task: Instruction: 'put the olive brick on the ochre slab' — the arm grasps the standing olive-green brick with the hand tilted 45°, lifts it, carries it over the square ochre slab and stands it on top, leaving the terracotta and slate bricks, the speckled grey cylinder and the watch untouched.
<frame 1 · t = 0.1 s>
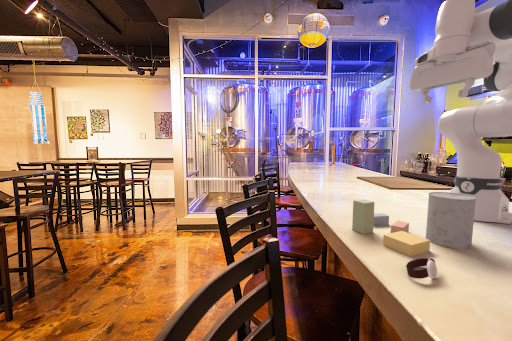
hand: (443, 100, 71), 39 cm above the table, tool pointing down, fingers open, 8 cm apart
olive brick: (362, 230, 70), on the table
watch: (420, 275, 47), on the table
ochre slab: (405, 249, 58), on the table
terracotta brick: (399, 234, 68), on the table
slate brick: (377, 224, 77), on the table
speckled grey cylinder: (447, 242, 62), on the table
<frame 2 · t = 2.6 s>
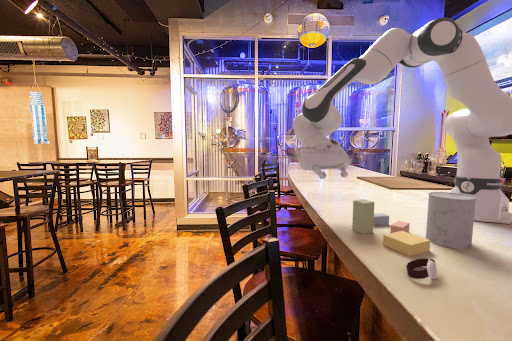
hand: (334, 177, 80), 15 cm above the table, tool tilted 45°, fingers open, 8 cm apart
nothing on the table moved.
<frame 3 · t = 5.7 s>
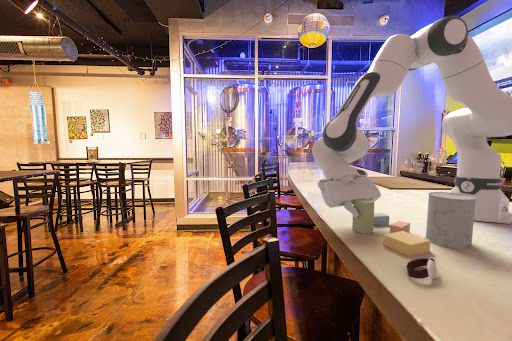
hand: (365, 215, 69), 5 cm above the table, tool tilted 45°, fingers closed on olive brick, 4 cm apart
olive brick: (362, 230, 70), on the table, touching gripper
everything else where it was.
when the fingers open (9 cm above the table, at t = 9.9 s): olive brick drops 1 cm, point 3 cm above the table.
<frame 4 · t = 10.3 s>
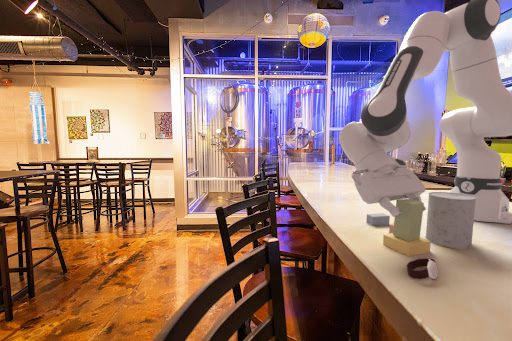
hand: (410, 213, 57), 9 cm above the table, tool tilted 45°, fingers open, 8 cm apart
olive brick: (405, 237, 58), point 3 cm above the table
everything else where it was.
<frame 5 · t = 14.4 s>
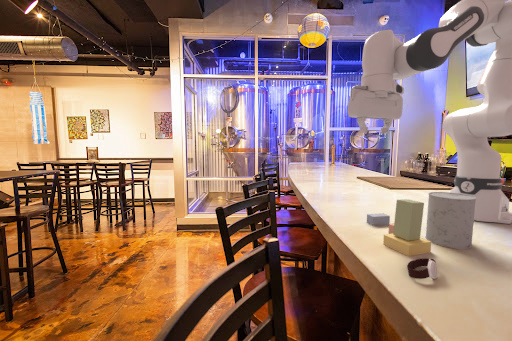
hand: (374, 133, 74), 29 cm above the table, tool pointing down, fingers open, 8 cm apart
olive brick: (406, 237, 58), point 3 cm above the table, touching ochre slab
ochre slab: (405, 249, 58), on the table, touching olive brick
everything else where it was.
at the end: olive brick 0.4 cm off-centre on the ochre slab, point 3.3 cm above the ochre slab's base; olive brick tilted 7°; terracotta brick moved 0.2 cm from its start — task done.
